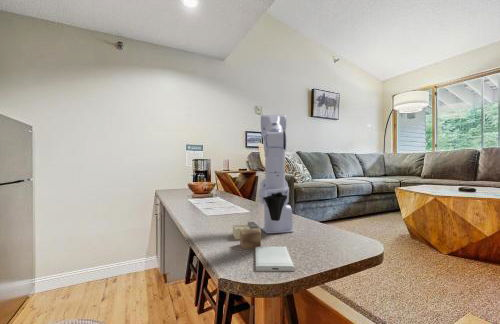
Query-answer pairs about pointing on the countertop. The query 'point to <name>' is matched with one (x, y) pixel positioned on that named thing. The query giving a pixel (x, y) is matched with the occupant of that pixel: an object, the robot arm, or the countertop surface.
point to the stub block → (250, 239)
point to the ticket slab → (244, 227)
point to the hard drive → (273, 259)
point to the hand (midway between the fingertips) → (275, 220)
